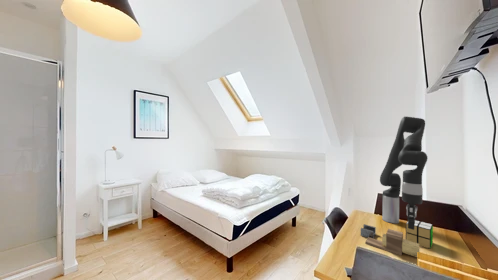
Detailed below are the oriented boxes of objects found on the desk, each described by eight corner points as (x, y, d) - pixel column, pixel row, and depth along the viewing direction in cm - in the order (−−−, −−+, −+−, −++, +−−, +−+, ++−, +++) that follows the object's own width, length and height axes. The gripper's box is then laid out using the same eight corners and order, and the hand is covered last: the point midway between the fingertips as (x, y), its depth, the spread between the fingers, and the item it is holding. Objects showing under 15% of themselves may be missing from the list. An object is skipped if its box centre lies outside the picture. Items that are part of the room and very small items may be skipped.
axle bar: (383, 243, 99) (383, 233, 99) (419, 254, 89) (419, 243, 90) (382, 246, 96) (382, 236, 96) (419, 258, 87) (419, 247, 87)
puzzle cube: (408, 235, 110) (409, 218, 110) (432, 242, 103) (432, 224, 103) (405, 241, 104) (405, 223, 104) (430, 249, 96) (430, 229, 96)
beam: (368, 238, 105) (368, 223, 105) (402, 249, 95) (402, 232, 95) (365, 243, 100) (365, 227, 100) (401, 255, 90) (401, 237, 90)
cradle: (363, 230, 115) (364, 224, 115) (375, 234, 111) (375, 227, 111) (360, 235, 109) (360, 228, 109) (372, 239, 105) (372, 232, 105)
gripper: (422, 196, 83) (422, 234, 83) (422, 191, 93) (422, 224, 93) (400, 193, 88) (400, 228, 88) (403, 188, 98) (402, 219, 98)
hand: (411, 226), depth 90 cm, fingers open, 8 cm apart
